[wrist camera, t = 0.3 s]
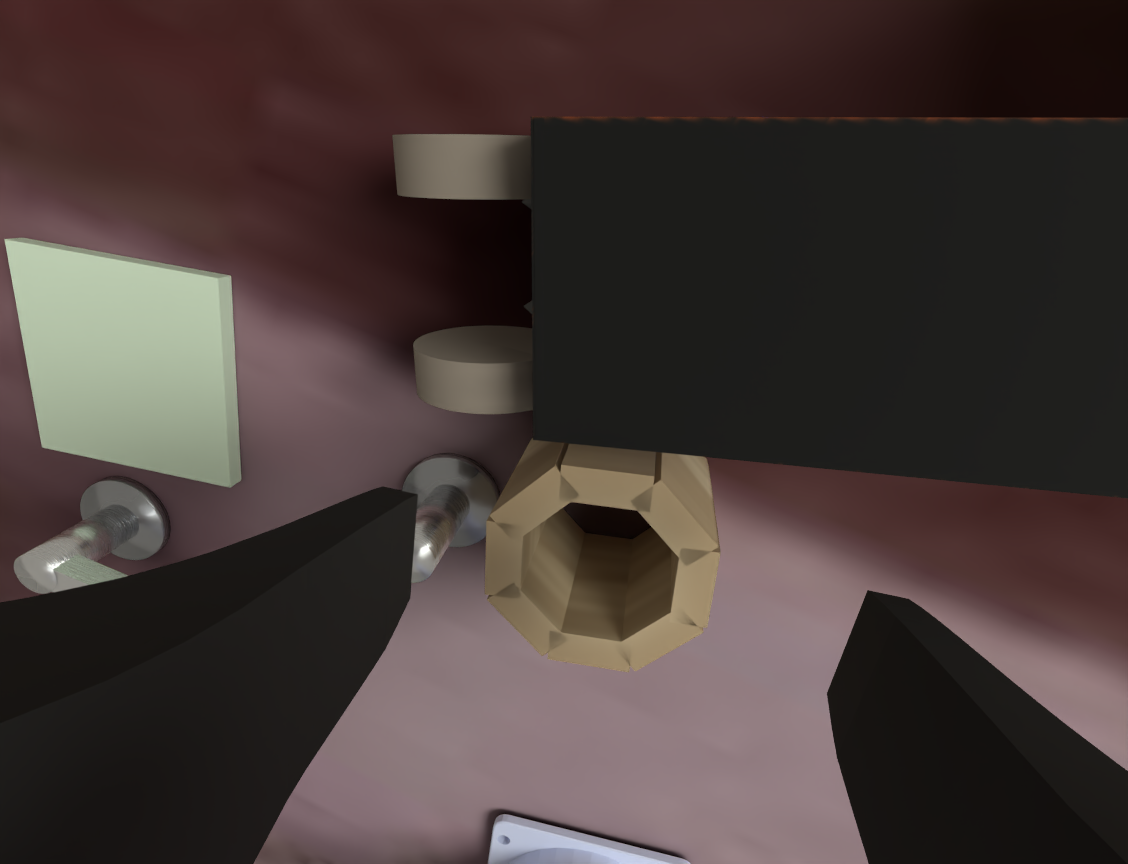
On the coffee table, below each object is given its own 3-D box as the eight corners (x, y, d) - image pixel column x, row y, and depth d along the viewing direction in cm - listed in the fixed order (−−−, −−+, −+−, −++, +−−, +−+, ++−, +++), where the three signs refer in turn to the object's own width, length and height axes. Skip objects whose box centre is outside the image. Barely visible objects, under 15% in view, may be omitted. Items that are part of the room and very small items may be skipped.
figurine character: (492, 361, 21) (1021, 398, 17) (365, 446, 14) (1201, 540, 10) (483, 133, 18) (1096, 118, 15) (323, 100, 12) (1397, 58, 8)
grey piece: (480, 665, 23) (447, 750, 20) (100, 577, 25) (6, 642, 21) (505, 464, 20) (471, 522, 17) (69, 376, 22) (-47, 412, 18)
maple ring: (690, 571, 21) (696, 683, 16) (524, 548, 21) (483, 648, 17) (717, 411, 19) (732, 486, 14) (531, 391, 19) (487, 456, 15)
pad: (241, 480, 22) (230, 487, 21) (57, 441, 23) (41, 447, 22) (230, 275, 19) (218, 278, 19) (23, 237, 20) (4, 239, 19)
